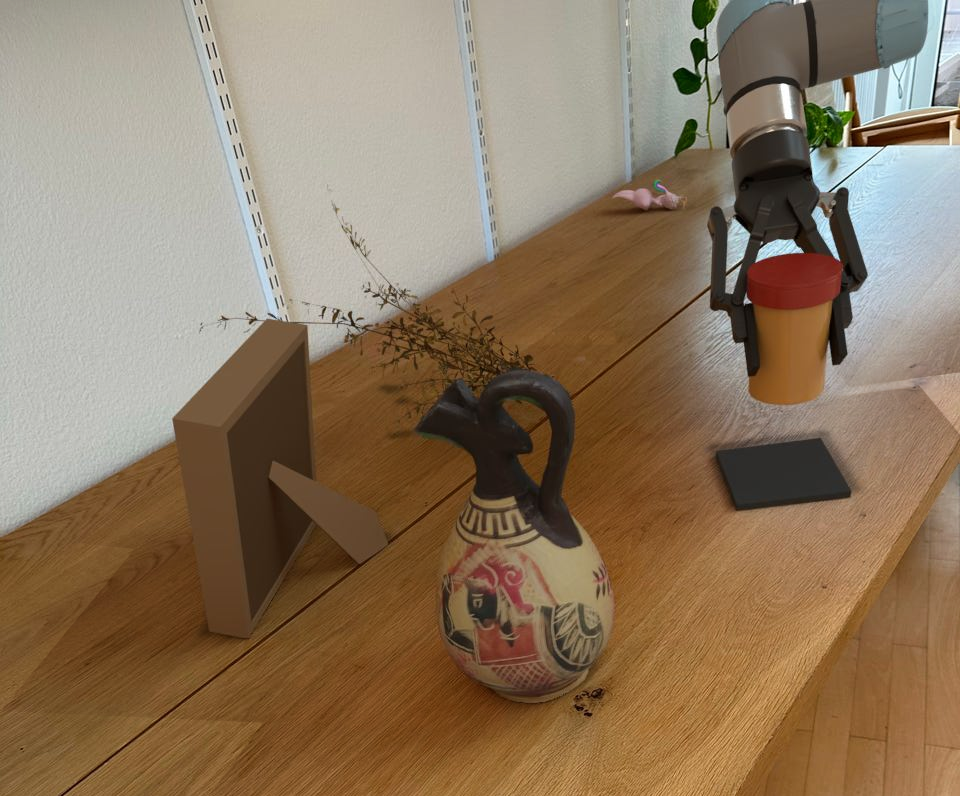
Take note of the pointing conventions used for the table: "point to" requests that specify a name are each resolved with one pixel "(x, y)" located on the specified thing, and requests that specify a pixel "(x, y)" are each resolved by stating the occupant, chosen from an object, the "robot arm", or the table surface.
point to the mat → (781, 474)
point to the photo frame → (259, 478)
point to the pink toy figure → (645, 199)
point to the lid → (794, 280)
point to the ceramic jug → (517, 549)
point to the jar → (791, 353)
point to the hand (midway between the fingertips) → (796, 365)
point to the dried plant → (426, 341)
